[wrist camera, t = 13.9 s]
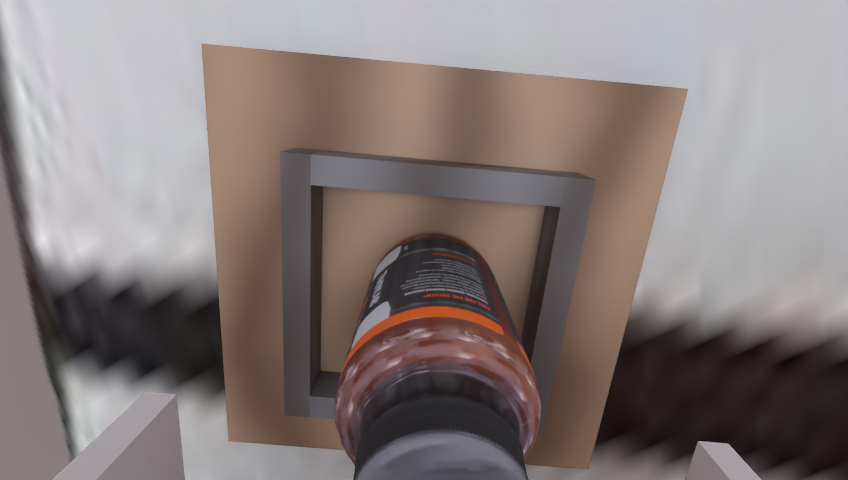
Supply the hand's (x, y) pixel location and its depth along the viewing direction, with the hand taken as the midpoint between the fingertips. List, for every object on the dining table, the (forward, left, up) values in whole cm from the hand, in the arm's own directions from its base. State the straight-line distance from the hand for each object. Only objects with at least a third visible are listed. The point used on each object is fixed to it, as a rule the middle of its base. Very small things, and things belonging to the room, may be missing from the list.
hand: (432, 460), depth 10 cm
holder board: (0, 0, -11) cm, 11 cm away
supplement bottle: (0, 0, -10) cm, 10 cm away
